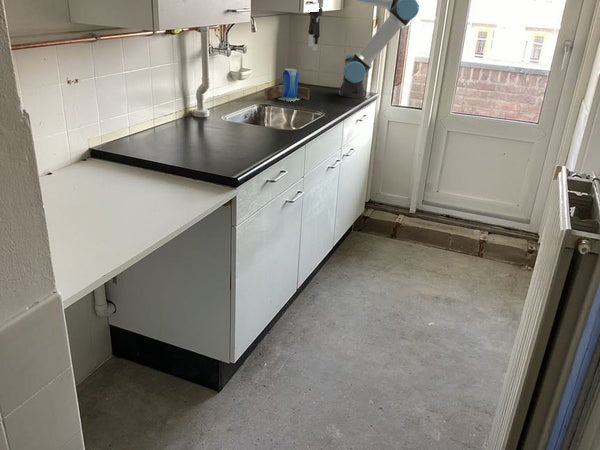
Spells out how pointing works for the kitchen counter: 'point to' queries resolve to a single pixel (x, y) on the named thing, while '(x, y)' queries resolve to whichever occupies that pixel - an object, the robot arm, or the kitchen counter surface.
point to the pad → (289, 100)
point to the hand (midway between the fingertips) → (312, 48)
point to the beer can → (290, 84)
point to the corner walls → (277, 92)
